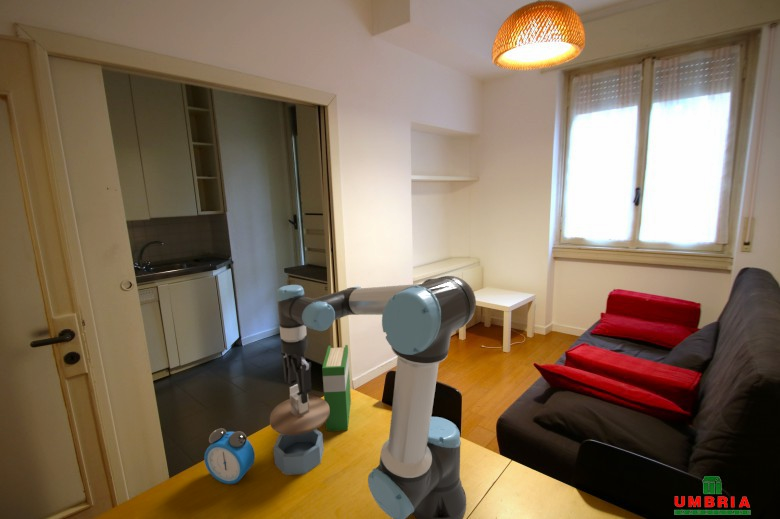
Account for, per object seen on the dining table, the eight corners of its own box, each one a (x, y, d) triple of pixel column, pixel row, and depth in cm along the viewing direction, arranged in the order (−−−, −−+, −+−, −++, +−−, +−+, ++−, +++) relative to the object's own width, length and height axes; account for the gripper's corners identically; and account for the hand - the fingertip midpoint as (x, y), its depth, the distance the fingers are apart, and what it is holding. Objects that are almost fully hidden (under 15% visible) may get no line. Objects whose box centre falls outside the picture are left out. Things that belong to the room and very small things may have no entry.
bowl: (331, 456, 115) (330, 439, 114) (292, 482, 105) (290, 464, 104) (306, 436, 125) (305, 420, 124) (268, 458, 115) (266, 441, 114)
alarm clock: (206, 481, 107) (199, 435, 104) (221, 465, 112) (215, 422, 110) (245, 489, 103) (239, 442, 100) (258, 472, 109) (253, 428, 106)
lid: (341, 414, 113) (340, 394, 111) (289, 444, 100) (287, 421, 99) (309, 392, 125) (308, 373, 124) (259, 416, 113) (257, 395, 111)
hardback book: (332, 402, 144) (328, 345, 140) (350, 401, 145) (347, 344, 140) (326, 431, 127) (322, 368, 122) (347, 430, 127) (344, 367, 123)
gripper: (321, 341, 104) (325, 414, 109) (290, 326, 116) (295, 392, 121) (298, 350, 99) (303, 426, 104) (268, 333, 111) (274, 401, 116)
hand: (299, 407), depth 112 cm, fingers closed on lid, 4 cm apart
